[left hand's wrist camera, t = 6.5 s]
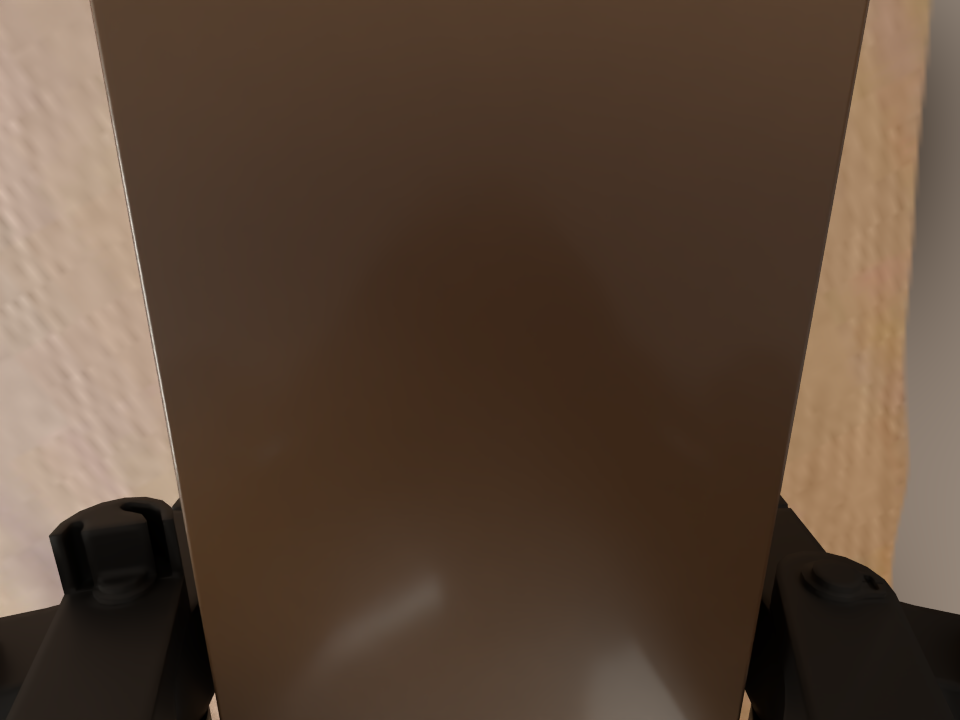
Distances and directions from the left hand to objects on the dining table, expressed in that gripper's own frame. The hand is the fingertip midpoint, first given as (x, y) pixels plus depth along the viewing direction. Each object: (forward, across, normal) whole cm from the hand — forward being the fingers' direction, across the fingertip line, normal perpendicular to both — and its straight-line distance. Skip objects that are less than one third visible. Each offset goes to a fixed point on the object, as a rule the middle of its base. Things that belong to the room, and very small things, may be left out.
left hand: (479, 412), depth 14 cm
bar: (0, 0, -9) cm, 9 cm away
